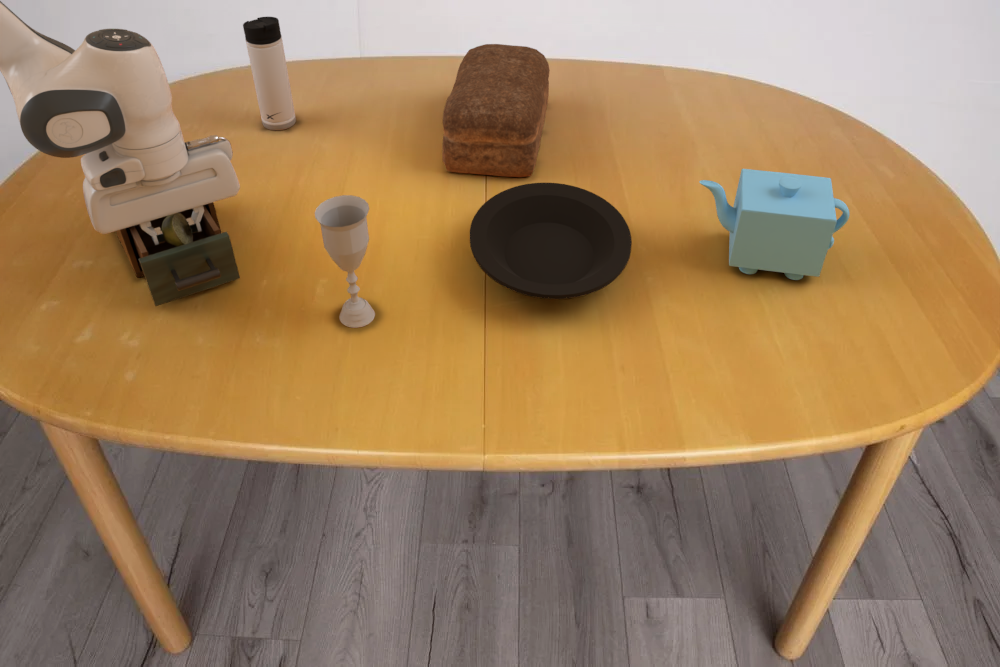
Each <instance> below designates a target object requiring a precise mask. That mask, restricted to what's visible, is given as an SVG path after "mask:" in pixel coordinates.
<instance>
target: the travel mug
mask: <svg viewBox="0 0 1000 667" xmlns="http://www.w3.org/2000/svg"><path fill="white" fill-rule="evenodd" d="M242 27H243V28H242V29H243V33H244V38H245V43H246V49H247V54H248V59H249V64H250V69H251V74H252V78H253V84H254V90H255V94H256V99H257V104H258V109H259V112H260V113H259V114H260V117H261V118H260V119H261V123H262V126H263V127H264V128H265V129H267V130H270V131H285V130H287V129H290V128H291V127H293V126H294V125H295V124H296V122H297V118H296V111H295V105H294V99H293V93H292V87H291V83H290V76H289V71H288V65H287V60H286V52H285V49H284V42H283V36H282V32H281V27H280V21H279V18H277V17H275V16H260V17H256V19H252V20H247V21H245V22H244V23H242Z"/></svg>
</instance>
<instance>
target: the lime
mask: <svg viewBox="0 0 1000 667" xmlns="http://www.w3.org/2000/svg"><path fill="white" fill-rule="evenodd" d="M162 232H163V235H164V239H165V240H166V241H167V242H168V243H170V244H172V245H174V246H177V247H178V246H181V245H185V244H188V243H191V242H192V238H193V236H192V234H191V232H190V231H189V228H188V224H187V222H186V218H185V217H184V216H183V215H182V214H181V213H175V214H172V215H168V216H167V217H166V218H165V219H164V221H163V223H162Z"/></svg>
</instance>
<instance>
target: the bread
mask: <svg viewBox="0 0 1000 667" xmlns="http://www.w3.org/2000/svg"><path fill="white" fill-rule="evenodd" d="M550 71H551V70H550V64H549V62H548V60H547V58H546V56H545V55H544V54H543V53H541V51H539V50H538V49H536V48H533V47H529V46H526V45H525V46H522V45H510V44H503V43H502V44H500V43H486V44H481V45H477V46H475V47H473V48H470V49H469V50H468V51H467V52H466V54H465V55H464V56H463V57H462V60H461V62H460V63H459V67H458V70H457V73H456V76H455V81H454V83H453V87H452V90H451V92H450V94H449V96H448V97H447V99H446V102H445V105H444V109H443V113H442V126H443V137H442V138H443V139H442V150H441V152H442V163H443V164H444V166H445V169H446V171H447V172H451V173H459V174H469V175H470V174H471V175H483V176H484V175H485V176H494V177H508V178H509V177H510V178H526V177H532V174H533V173H534V171H535V167H536V164H537V159H538V154H539V150H540V146H541V141H542V140H541V139H542V134H543V131H544V125H545V120H546V114H547V108H548V102H549V97H550V96H549V95H550V94H549V93H550V81H549V79H550V78H549V77H550Z"/></svg>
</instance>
